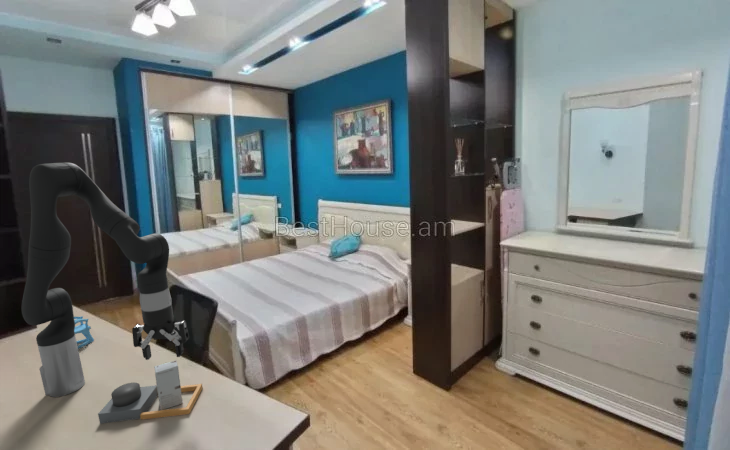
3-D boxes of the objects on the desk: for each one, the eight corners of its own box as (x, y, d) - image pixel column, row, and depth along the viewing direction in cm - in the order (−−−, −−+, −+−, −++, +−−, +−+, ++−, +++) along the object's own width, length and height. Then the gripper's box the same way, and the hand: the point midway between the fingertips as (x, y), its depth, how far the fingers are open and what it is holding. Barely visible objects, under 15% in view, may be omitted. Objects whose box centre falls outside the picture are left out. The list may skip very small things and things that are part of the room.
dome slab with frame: (98, 424, 101) (94, 405, 100) (122, 397, 113) (118, 379, 112) (189, 413, 104) (186, 395, 102) (202, 388, 115) (200, 370, 114)
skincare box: (160, 411, 105) (154, 373, 103) (159, 403, 109) (153, 366, 107) (183, 403, 109) (178, 366, 106) (181, 395, 112) (176, 359, 110)
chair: (97, 342, 150) (91, 314, 148) (72, 351, 143) (67, 322, 141) (88, 338, 154) (83, 311, 152) (64, 346, 147) (59, 318, 145)
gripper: (122, 312, 99) (131, 366, 102) (177, 308, 100) (185, 361, 103) (136, 301, 106) (144, 352, 109) (187, 297, 107) (194, 348, 111)
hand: (164, 357), depth 106 cm, fingers open, 8 cm apart
